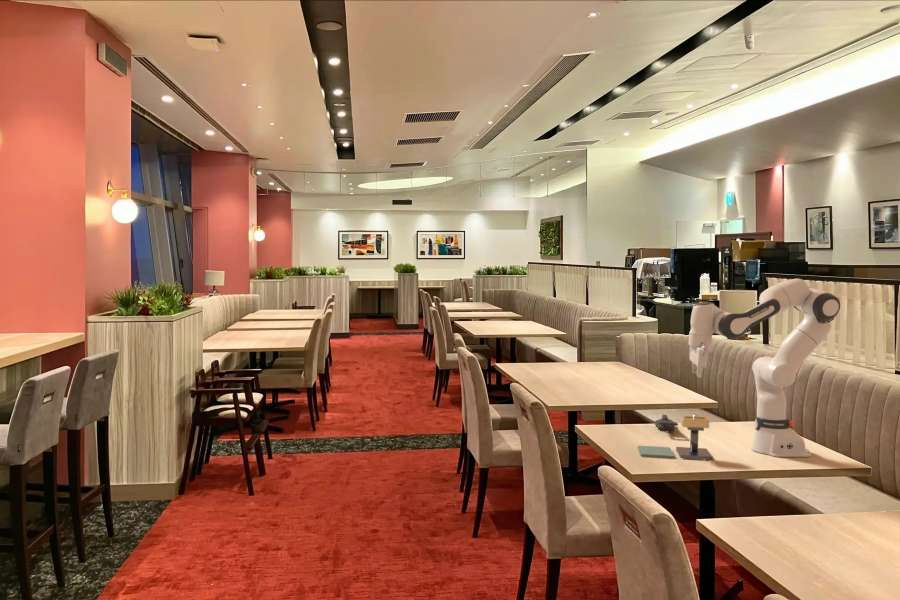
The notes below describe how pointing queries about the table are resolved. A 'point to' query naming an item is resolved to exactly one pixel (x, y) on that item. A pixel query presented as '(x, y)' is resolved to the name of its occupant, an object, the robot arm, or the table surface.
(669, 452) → the rubber mat
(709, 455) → the pin stand
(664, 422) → the zipper pull
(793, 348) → the robot arm
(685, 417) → the wooden rectangular frame
